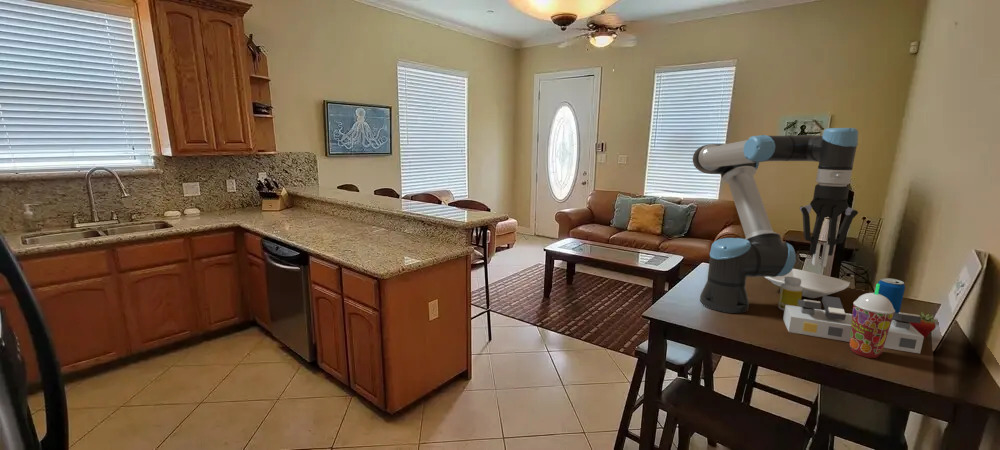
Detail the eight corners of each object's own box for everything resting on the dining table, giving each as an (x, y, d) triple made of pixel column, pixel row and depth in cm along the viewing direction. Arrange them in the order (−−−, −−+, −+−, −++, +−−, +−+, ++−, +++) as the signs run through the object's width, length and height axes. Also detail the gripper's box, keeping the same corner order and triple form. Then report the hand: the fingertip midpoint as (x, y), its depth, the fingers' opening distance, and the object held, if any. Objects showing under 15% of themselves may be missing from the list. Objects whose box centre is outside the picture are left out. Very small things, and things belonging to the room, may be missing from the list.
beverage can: (903, 320, 133) (911, 284, 131) (880, 318, 135) (887, 283, 132) (889, 311, 140) (896, 278, 137) (867, 310, 141) (874, 276, 138)
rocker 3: (901, 320, 114) (901, 312, 114) (887, 317, 122) (888, 310, 122) (920, 323, 112) (921, 315, 112) (905, 320, 120) (906, 312, 120)
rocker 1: (804, 307, 123) (804, 299, 123) (797, 305, 131) (798, 298, 131) (820, 309, 122) (821, 301, 122) (813, 307, 129) (813, 300, 129)
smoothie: (836, 346, 117) (849, 279, 113) (864, 344, 118) (877, 278, 114) (864, 361, 109) (879, 290, 105) (893, 360, 110) (909, 289, 105)
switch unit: (788, 332, 125) (792, 312, 124) (783, 319, 134) (785, 300, 133) (920, 354, 113) (925, 331, 111) (904, 337, 122) (908, 317, 120)
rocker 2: (827, 317, 122) (829, 311, 121) (821, 300, 128) (823, 294, 127) (844, 320, 120) (846, 314, 119) (837, 302, 127) (839, 296, 126)
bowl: (785, 279, 172) (787, 266, 170) (854, 297, 152) (857, 282, 151) (756, 289, 160) (758, 275, 159) (827, 310, 141) (830, 295, 140)
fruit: (928, 343, 118) (934, 317, 117) (903, 336, 123) (909, 310, 121) (935, 339, 121) (941, 314, 119) (910, 332, 125) (916, 307, 124)
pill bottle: (803, 313, 139) (808, 282, 137) (784, 312, 139) (789, 281, 137) (792, 305, 145) (796, 275, 143) (773, 305, 145) (778, 275, 143)
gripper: (803, 184, 115) (791, 265, 120) (870, 187, 109) (854, 272, 114) (798, 182, 122) (786, 258, 127) (860, 184, 116) (845, 264, 121)
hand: (818, 265), depth 120 cm, fingers closed
